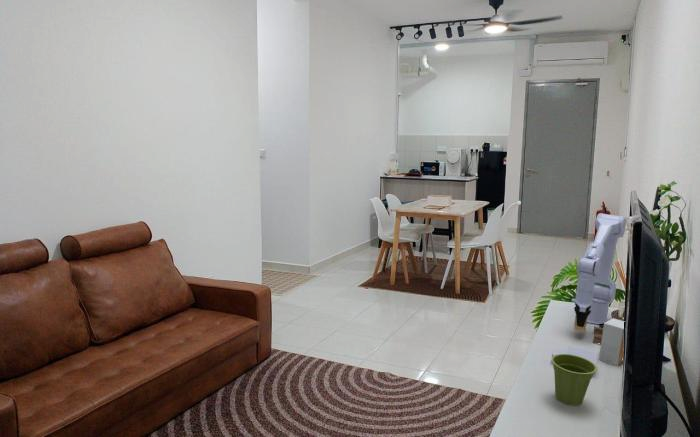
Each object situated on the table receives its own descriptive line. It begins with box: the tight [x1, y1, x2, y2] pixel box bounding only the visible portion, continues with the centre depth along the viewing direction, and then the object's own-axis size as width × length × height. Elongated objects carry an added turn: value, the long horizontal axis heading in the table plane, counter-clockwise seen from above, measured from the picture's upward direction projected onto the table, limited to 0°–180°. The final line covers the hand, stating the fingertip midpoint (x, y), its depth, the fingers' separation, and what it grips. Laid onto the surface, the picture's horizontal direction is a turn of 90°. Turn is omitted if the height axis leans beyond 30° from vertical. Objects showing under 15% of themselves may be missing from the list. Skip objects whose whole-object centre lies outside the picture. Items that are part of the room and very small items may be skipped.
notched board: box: [592, 326, 603, 345], centre depth 192 cm, size 11×8×2 cm
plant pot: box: [551, 354, 598, 407], centre depth 147 cm, size 12×12×11 cm
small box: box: [598, 317, 625, 366], centre depth 175 cm, size 8×6×13 cm
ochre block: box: [573, 316, 588, 332], centre depth 195 cm, size 4×4×7 cm
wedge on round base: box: [550, 345, 598, 366], centre depth 169 cm, size 9×7×13 cm
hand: (580, 324), depth 195 cm, fingers closed on ochre block, 4 cm apart
